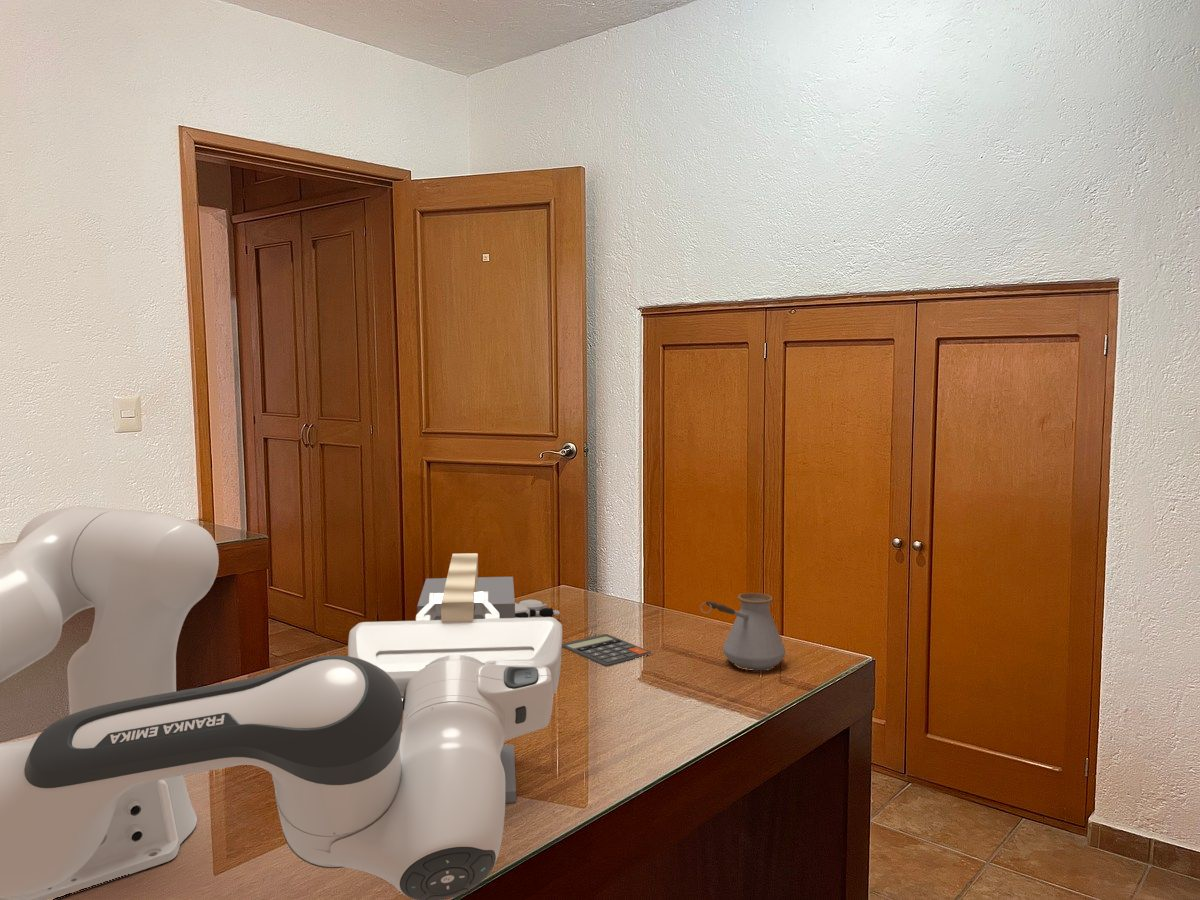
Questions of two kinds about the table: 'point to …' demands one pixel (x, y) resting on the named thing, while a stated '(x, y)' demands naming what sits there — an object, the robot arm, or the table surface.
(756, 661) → the coffee pot
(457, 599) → the maple bar
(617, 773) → the table surface
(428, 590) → the charcoal stand
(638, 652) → the calculator
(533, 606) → the robot toy
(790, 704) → the table surface
